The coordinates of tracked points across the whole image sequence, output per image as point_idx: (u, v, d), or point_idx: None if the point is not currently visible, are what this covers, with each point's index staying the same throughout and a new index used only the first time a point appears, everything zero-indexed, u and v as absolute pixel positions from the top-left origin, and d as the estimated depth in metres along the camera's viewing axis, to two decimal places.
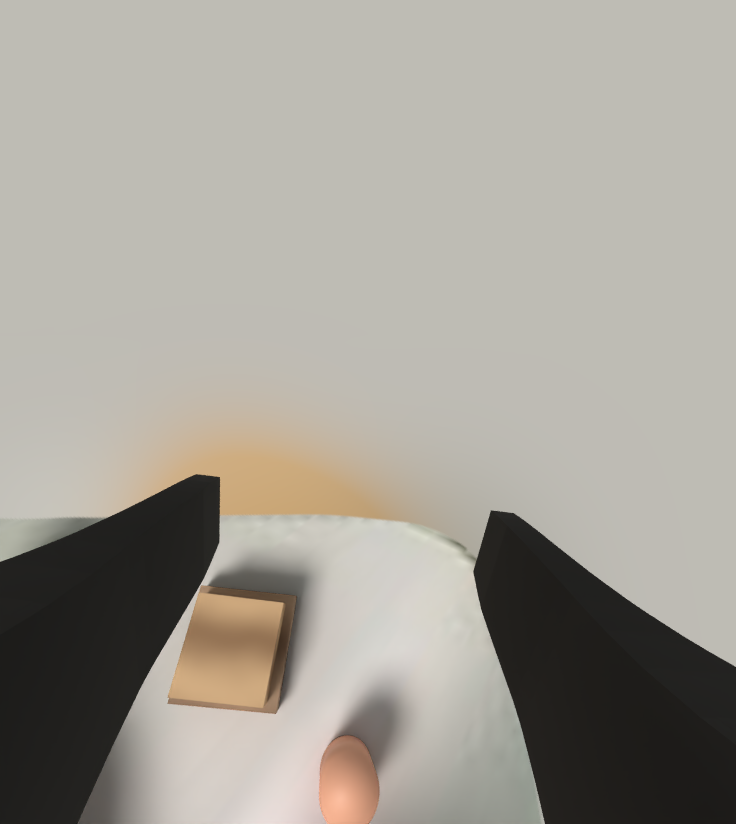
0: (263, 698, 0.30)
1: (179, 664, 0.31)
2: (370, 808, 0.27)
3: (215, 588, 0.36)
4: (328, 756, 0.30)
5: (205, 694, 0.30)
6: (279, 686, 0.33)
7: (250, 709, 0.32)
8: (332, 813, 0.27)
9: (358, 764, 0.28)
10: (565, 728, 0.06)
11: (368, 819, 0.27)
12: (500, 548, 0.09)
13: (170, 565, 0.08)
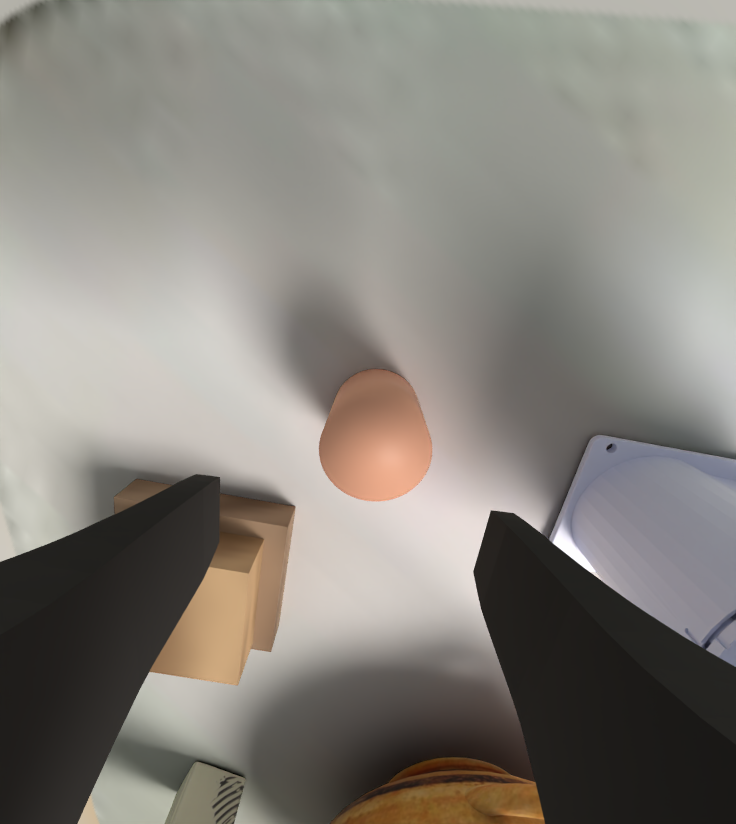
0: (235, 573, 0.17)
1: (196, 676, 0.20)
2: (403, 417, 0.14)
3: None
4: None
5: (232, 645, 0.19)
6: (252, 522, 0.20)
7: (280, 560, 0.20)
8: (400, 481, 0.15)
9: (338, 433, 0.14)
10: (565, 728, 0.06)
11: (418, 422, 0.14)
12: (500, 548, 0.09)
13: (170, 565, 0.08)
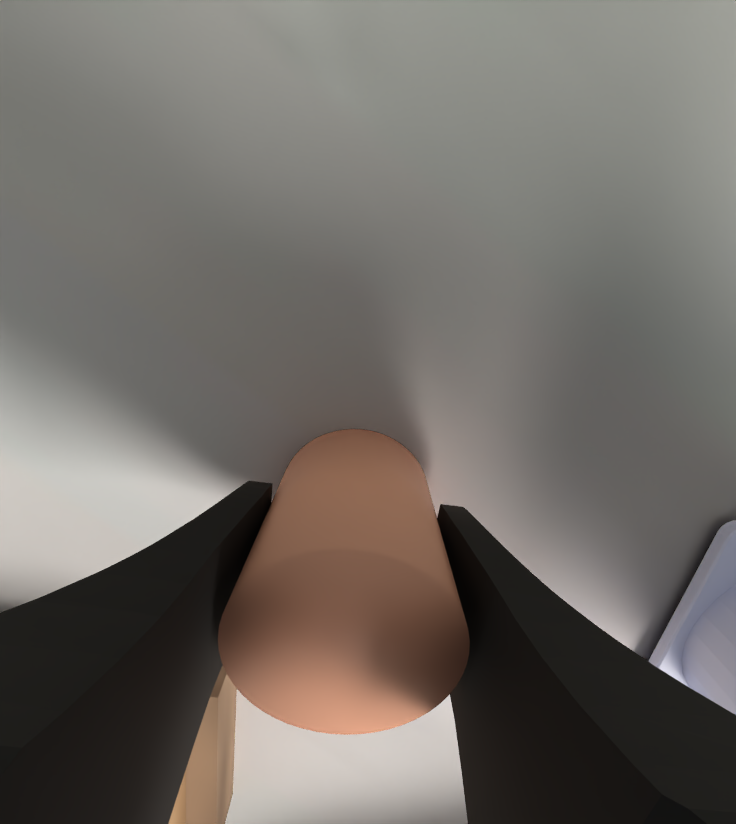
0: None
1: None
2: (403, 585, 0.06)
3: None
4: None
5: None
6: None
7: (213, 742, 0.12)
8: (401, 700, 0.07)
9: (258, 620, 0.06)
10: (485, 720, 0.06)
11: (437, 593, 0.06)
12: (445, 541, 0.09)
13: (236, 572, 0.08)
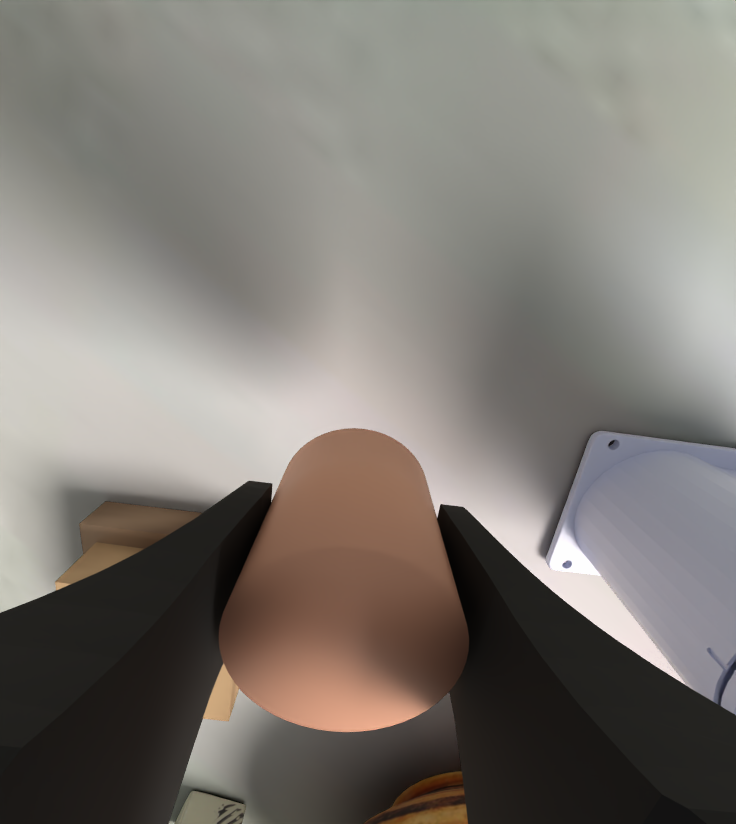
0: None
1: None
2: (403, 583, 0.06)
3: None
4: None
5: (221, 680, 0.18)
6: None
7: None
8: (401, 698, 0.07)
9: (258, 618, 0.06)
10: (485, 720, 0.06)
11: (436, 591, 0.06)
12: (445, 542, 0.09)
13: (236, 572, 0.08)
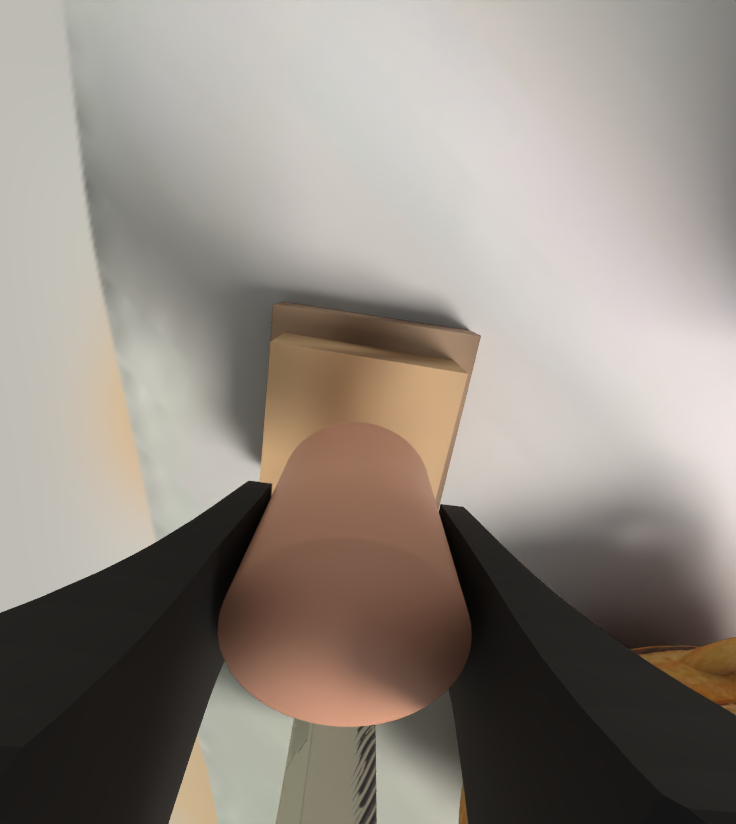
0: (451, 374, 0.14)
1: None
2: (410, 578, 0.06)
3: None
4: None
5: (429, 479, 0.16)
6: (438, 331, 0.16)
7: (466, 383, 0.17)
8: (398, 694, 0.07)
9: (260, 606, 0.06)
10: (485, 720, 0.06)
11: (443, 588, 0.06)
12: None
13: (236, 571, 0.08)
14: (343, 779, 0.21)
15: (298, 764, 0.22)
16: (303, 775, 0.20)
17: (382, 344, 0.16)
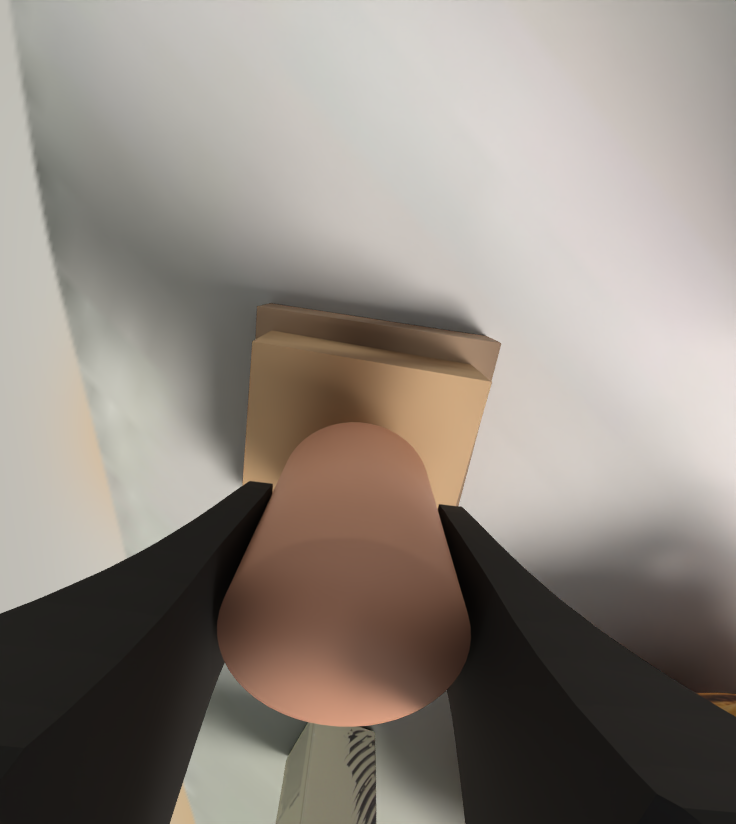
0: (472, 382, 0.12)
1: None
2: (409, 578, 0.06)
3: None
4: None
5: None
6: (451, 337, 0.14)
7: None
8: (397, 694, 0.07)
9: (260, 606, 0.06)
10: (482, 720, 0.06)
11: (442, 588, 0.06)
12: None
13: None
14: None
15: (289, 823, 0.19)
16: None
17: None
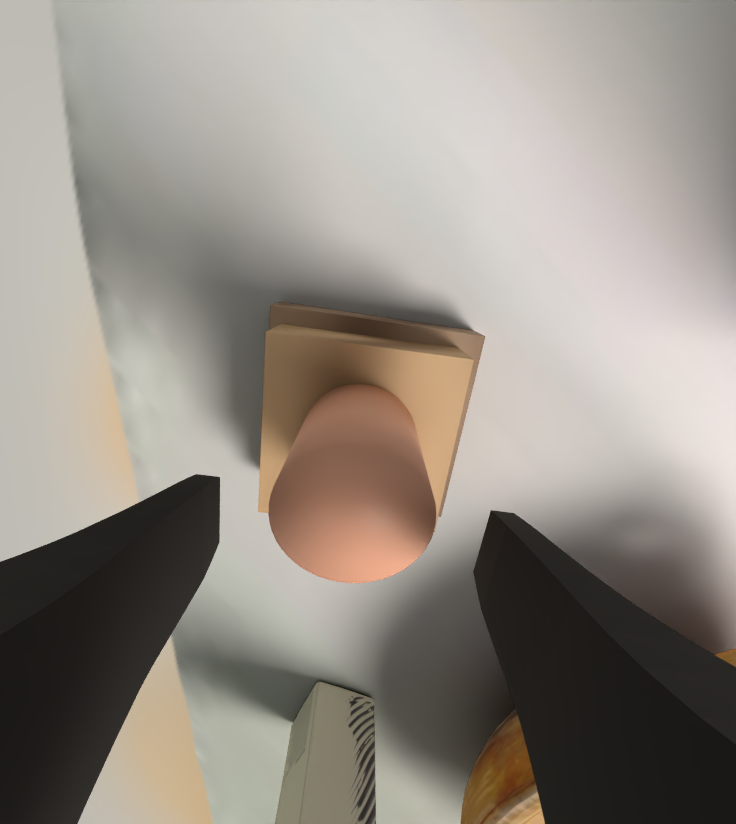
0: (456, 360, 0.14)
1: None
2: (394, 469, 0.09)
3: None
4: None
5: (436, 472, 0.15)
6: (440, 332, 0.16)
7: (470, 385, 0.16)
8: (389, 557, 0.10)
9: (296, 491, 0.10)
10: (565, 728, 0.06)
11: (415, 476, 0.09)
12: (500, 548, 0.09)
13: (170, 564, 0.08)
14: (342, 791, 0.20)
15: (295, 775, 0.21)
16: (301, 787, 0.20)
17: None
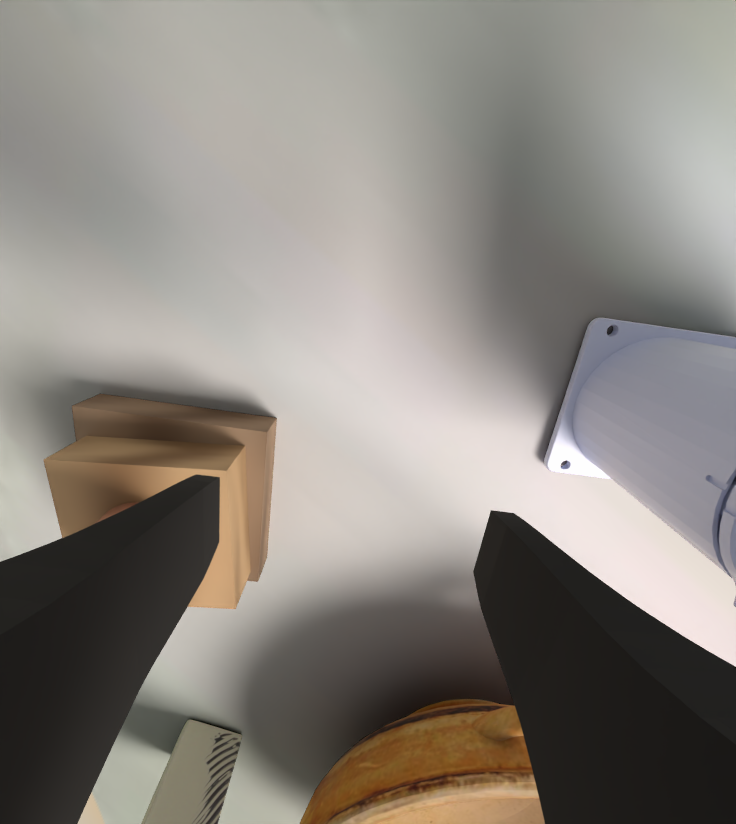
0: (212, 472, 0.16)
1: (189, 604, 0.18)
2: None
3: None
4: None
5: (222, 561, 0.17)
6: (227, 428, 0.18)
7: (262, 472, 0.18)
8: None
9: None
10: (565, 728, 0.06)
11: None
12: (500, 548, 0.09)
13: (170, 565, 0.08)
14: None
15: None
16: None
17: (178, 439, 0.18)
